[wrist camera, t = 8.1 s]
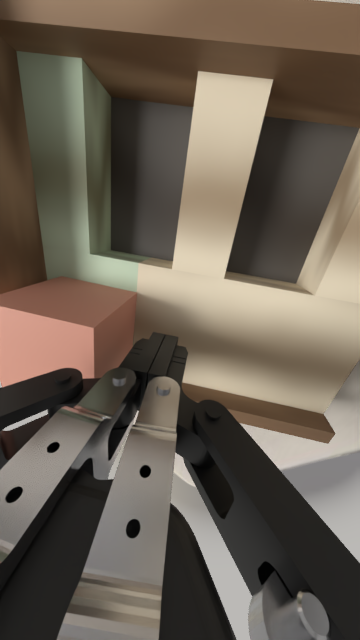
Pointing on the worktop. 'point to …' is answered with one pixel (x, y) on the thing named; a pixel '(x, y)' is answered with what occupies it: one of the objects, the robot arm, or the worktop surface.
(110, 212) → the box
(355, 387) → the worktop surface
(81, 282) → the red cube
